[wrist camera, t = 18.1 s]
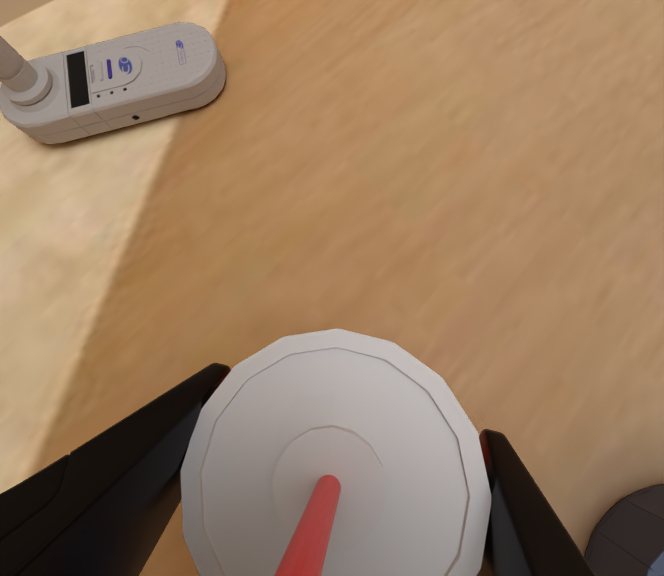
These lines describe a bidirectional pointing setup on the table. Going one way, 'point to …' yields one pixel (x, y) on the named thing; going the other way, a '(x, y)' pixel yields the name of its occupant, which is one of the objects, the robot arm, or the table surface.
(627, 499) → the pot
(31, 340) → the table surface
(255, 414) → the beverage cup
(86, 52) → the electronic device
